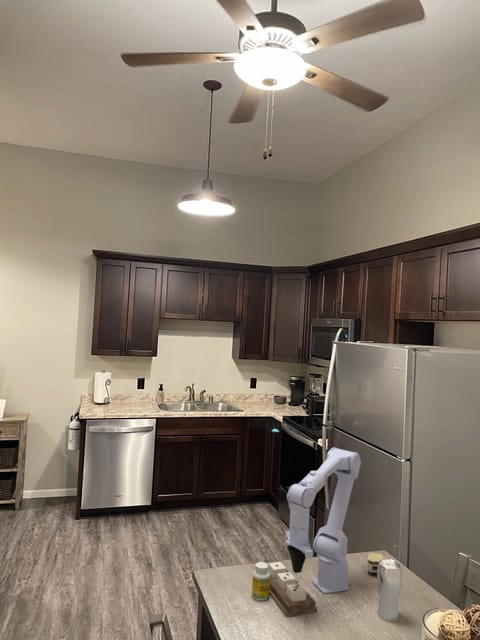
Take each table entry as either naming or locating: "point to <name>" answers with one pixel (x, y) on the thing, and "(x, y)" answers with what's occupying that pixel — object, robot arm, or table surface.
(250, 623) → the table surface
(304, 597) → the key three
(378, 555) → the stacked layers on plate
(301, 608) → the brown wooden tray
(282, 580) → the key two
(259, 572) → the supplement bottle
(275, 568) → the key one
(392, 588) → the beer glass
